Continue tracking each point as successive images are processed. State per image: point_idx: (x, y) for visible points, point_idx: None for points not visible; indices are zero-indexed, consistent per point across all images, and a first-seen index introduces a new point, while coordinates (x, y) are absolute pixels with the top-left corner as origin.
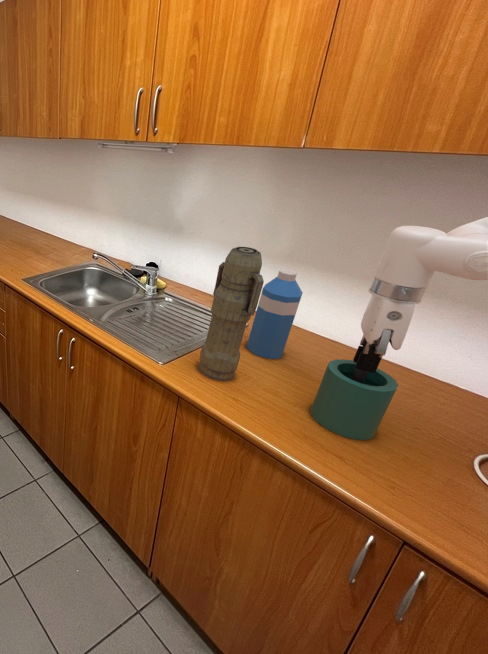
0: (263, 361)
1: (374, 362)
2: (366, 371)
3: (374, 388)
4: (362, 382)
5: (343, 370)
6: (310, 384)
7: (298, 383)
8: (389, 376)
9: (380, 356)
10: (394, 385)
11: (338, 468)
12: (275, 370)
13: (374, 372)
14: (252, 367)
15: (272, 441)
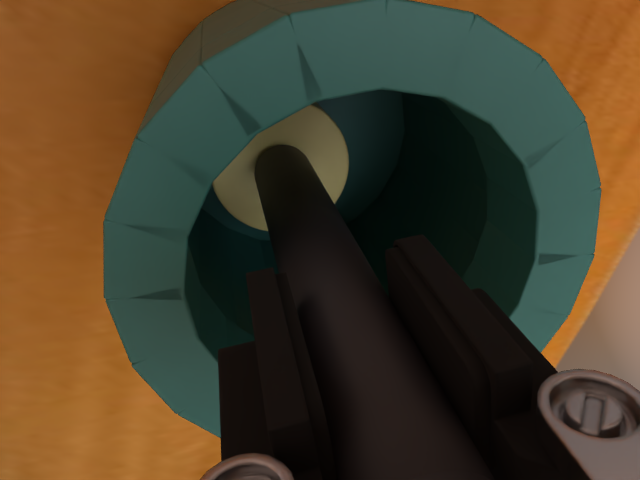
0: (5, 469)
1: (526, 347)
2: (372, 273)
3: (569, 175)
4: (337, 214)
5: (235, 335)
6: (38, 286)
7: (83, 325)
8: (227, 74)
9: (629, 406)
10: (417, 31)
11: (626, 108)
12: (47, 417)
13: (420, 236)
14: (113, 476)
15: (583, 296)
